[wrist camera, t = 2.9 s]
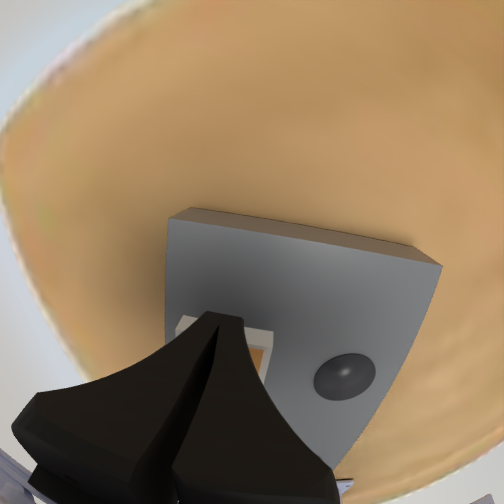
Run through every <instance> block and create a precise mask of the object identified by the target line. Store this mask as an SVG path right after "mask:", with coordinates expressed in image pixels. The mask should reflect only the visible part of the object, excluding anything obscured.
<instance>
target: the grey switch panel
mask: <svg viewBox="0 0 504 504" xmlns="http://www.w3.org/2000/svg"><path fill="white" fill-rule="evenodd" d="M442 267H443V266H442V265H441V264H439V263H438V262H436V261H435V260H433V259H432V258H430V257H429V256H427V255H426V254H424V253H423V252H421V251H420V250H418V249H417V248H415V247H410V246H406V245H401V244H396V243H392V242H387V241H382V240H377V239H372V238H367V237H362V236H357V235H352V234H347V233H342V232H337V231H331V230H326V229H321V228H315V227H310V226H304V225H298V224H293V223H287V222H281V221H275V220H269V219H263V218H257V217H251V216H244V215H238V214H231V213H225V212H218V211H211V210H204V209H197V208H188V209H186V210H184V211H182V212H180V213H178V214H176V215H174V216H172V217H170V218H169V221H168V236H167V253H166V277H165V345H166V344H168V343H169V342H170V341H172V340H173V339H174V338H176V335H175V329H176V327H177V325H178V324H179V322H180V320H181V318H182V316H183V315H186V316H190V317H195V318H199V317H200V316H201V315H202V314H203V313H204V312H206V311H211V312H216V313H221V314H227V315H232V316H238V317H242V318H243V320H244V327H248V328H254V329H260V330H267V331H273V332H274V333H273V349H272V353H271V357H270V361H269V365H268V369H267V373H266V376H265V380H264V384H263V385H264V387H265V389H266V391H267V393H268V394H269V396H270V398H271V400H272V401H273V403H274V404H275V406H276V408H277V409H278V411H279V412H280V413H281V415H282V416H283V417H284V419H285V420H286V421H287V423H288V424H289V425H290V426H291V428H292V429H293V430H294V432H295V433H296V434H297V435H298V436H299V437H300V438H301V440H302V441H303V442H304V443H305V444H306V445H307V446H308V447H309V448H310V449H311V450H312V451H313V452H314V453H315V454H316V455H317V456H318V457H319V458H320V459H321V460H322V461H324V462H325V463H326V464H327V465H328V466H329V467H330V468H332V471H333V470H334V469H335V468H336V466H337V465H338V464H339V463H340V461H341V460H342V459H343V457H344V456H345V455H346V454H347V452H348V451H349V450H350V448H351V447H352V446H353V444H354V443H355V442H356V440H357V439H358V437H359V436H360V434H361V433H362V432H363V430H364V429H365V427H366V426H367V424H368V423H369V421H370V420H371V418H372V417H373V415H374V414H375V412H376V410H377V409H378V407H379V406H380V404H381V402H382V401H383V399H384V397H385V396H386V394H387V392H388V390H389V389H390V387H391V385H392V383H393V382H394V380H395V378H396V376H397V374H398V372H399V371H400V369H401V367H402V365H403V363H404V361H405V359H406V357H407V355H408V353H409V351H410V349H411V347H412V344H413V342H414V340H415V338H416V336H417V334H418V331H419V329H420V327H421V324H422V322H423V320H424V317H425V315H426V312H427V310H428V307H429V305H430V302H431V299H432V297H433V294H434V291H435V288H436V286H437V283H438V280H439V277H440V274H441V271H442Z"/></svg>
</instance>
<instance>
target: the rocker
mask: <svg viewBox="0 0 504 504" xmlns="http://www.w3.org/2000/svg"><path fill="white" fill-rule="evenodd" d="M197 319H198V318H195V317H190V316H186V315H183V316H182V318H181V320H180V322H179V324H178V325H177V327H176V329H175V335H176V337H177V336H178V335H179V334H181V333H182V332H183V331H184V330H186V329H187V328H188V327H189V326H190V325H191V324H192V323H194V322H195V321H196V320H197ZM244 331H245V336H246V341H247V345H248V348H249V351H250V354H251V357H252V360H253V363H254V366H255V368H256V370H257V373H258V375H259V377H260V379H261V381H262V383H263V384H264V380H265V376H266V373H267V369H268V365H269V361H270V357H271V353H272V349H273V333H274V332H273V331H267V330H260V329H254V328H248V327H244Z"/></svg>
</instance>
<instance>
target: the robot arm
mask: <svg viewBox="0 0 504 504" xmlns="http://www.w3.org/2000/svg"><path fill="white" fill-rule="evenodd" d="M11 428H12V432H13V434H14V436H15V437H16V439H17V440H18V442H19V443H20V444H21V445H22V447H23V448H24V449H25V450H26V451H27V452H28V454H29V455H30V456H31V457H32V458H33V459H34V460H35V462H36V463H37V464H38V465H37V466H36V468H35V470H34V471H33V473H32V472H30V471H29V470H27V469H26V468H25V467H23V466H22V465H21V464H19V463H18V462H16V461H15V460H14V459H13V458H11V457H10V456H9V455H8V454H7V453H5V452H4V451H3V450H2V449H0V504H36V503H35V501H34V497H33V495H34V496H36V497H37V498H39V499H40V500H42V501H43V502H45V503H46V504H342V496H341V495H342V494H343V493H345V492H346V491H347V490H348V489H349V488H350V487H351V486H352V485H353V484H354V480H343V481H336V480H335V477H334V474H333V471H332V468H330V467H329V466H328V465H327V464H326V463H325V462H324V461H322V460H321V459H320V458H319V457H318V456H317V455H316V454H315V453H314V452H313V451H312V450H311V449H310V448H309V447H308V446H307V445H306V444H305V443H304V442H303V441H302V440H301V438H300V437H299V436H298V435H297V434H296V433H295V432H294V430H293V429H292V428H291V426H290V425H289V424H288V423H287V421H286V420H285V419H284V417H283V416H282V415H281V413H280V412H279V411H278V409H277V408H276V406H275V404H274V403H273V401H272V400H271V398H270V396H269V394H268V393H267V391H266V389H265V387H264V385H263V383H262V381H261V379H260V377H259V375H258V373H257V370H256V368H255V366H254V363H253V360H252V357H251V354H250V351H249V348H248V345H247V341H246V336H245V331H244V320H243V318H242V317H238V316H232V315H227V314H221V313H216V312H211V311H206V312H204V313H203V314H202V315H201V316H200V317H199V318H198V319H197V320H196V321H195V322H194V323H192V324H191V325H190V326H189V327H188V328H187V329H186V330H184V331H183V332H182V333H181V334H179V335H178V336H177V337H176V338H174V339H173V340H172V341H170V342H169V343H168V344H166V345H165V346H163V347H162V348H160V349H159V350H158V351H156V352H155V353H153V354H151V355H150V356H148V357H147V358H145V359H143V360H141V361H139V362H138V363H136V364H134V365H132V366H130V367H128V368H126V369H123V370H121V371H119V372H116V373H114V374H112V375H109V376H107V377H104V378H101V379H98V380H95V381H92V382H89V383H85V384H81V385H78V386H73V387H69V388H64V389H58V390H52V391H46V392H38V393H36V395H35V396H34V397H33V398H32V399H31V400H30V401H29V403H28V404H27V405H26V406H25V408H24V409H23V410H22V412H21V413H20V414H19V416H18V417H17V418H16V420H15V421H14V422H13V423H12V426H11ZM31 493H32V494H33V495H32V494H31ZM178 501H179V502H178ZM471 504H494V501H493V498H492V495H491V494H488V495H486V496H484V497H482V498H480V499H478V500H476V501H475V502H473V503H471Z"/></svg>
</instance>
